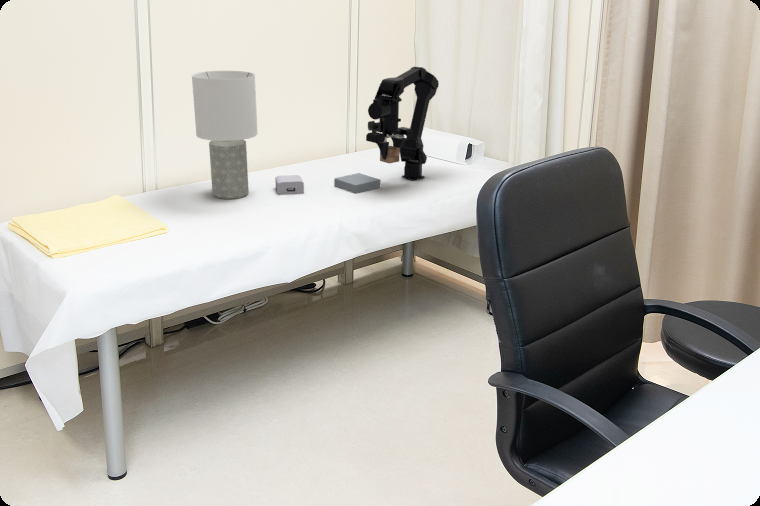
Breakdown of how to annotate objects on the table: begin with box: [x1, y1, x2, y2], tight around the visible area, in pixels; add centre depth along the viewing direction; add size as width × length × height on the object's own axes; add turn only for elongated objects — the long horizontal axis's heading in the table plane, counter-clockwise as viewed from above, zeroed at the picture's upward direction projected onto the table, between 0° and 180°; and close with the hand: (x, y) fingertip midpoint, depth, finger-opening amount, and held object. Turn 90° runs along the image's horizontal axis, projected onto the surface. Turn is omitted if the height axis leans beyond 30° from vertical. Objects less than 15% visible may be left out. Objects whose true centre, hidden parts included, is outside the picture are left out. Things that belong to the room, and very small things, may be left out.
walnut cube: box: [379, 145, 400, 164], centre depth 268 cm, size 5×5×5 cm
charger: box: [274, 174, 305, 196], centre depth 270 cm, size 5×9×15 cm
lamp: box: [191, 70, 258, 200], centre depth 255 cm, size 21×21×42 cm
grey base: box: [333, 172, 381, 194], centre depth 273 cm, size 12×12×3 cm
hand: (389, 158), depth 269 cm, fingers closed on walnut cube, 5 cm apart
